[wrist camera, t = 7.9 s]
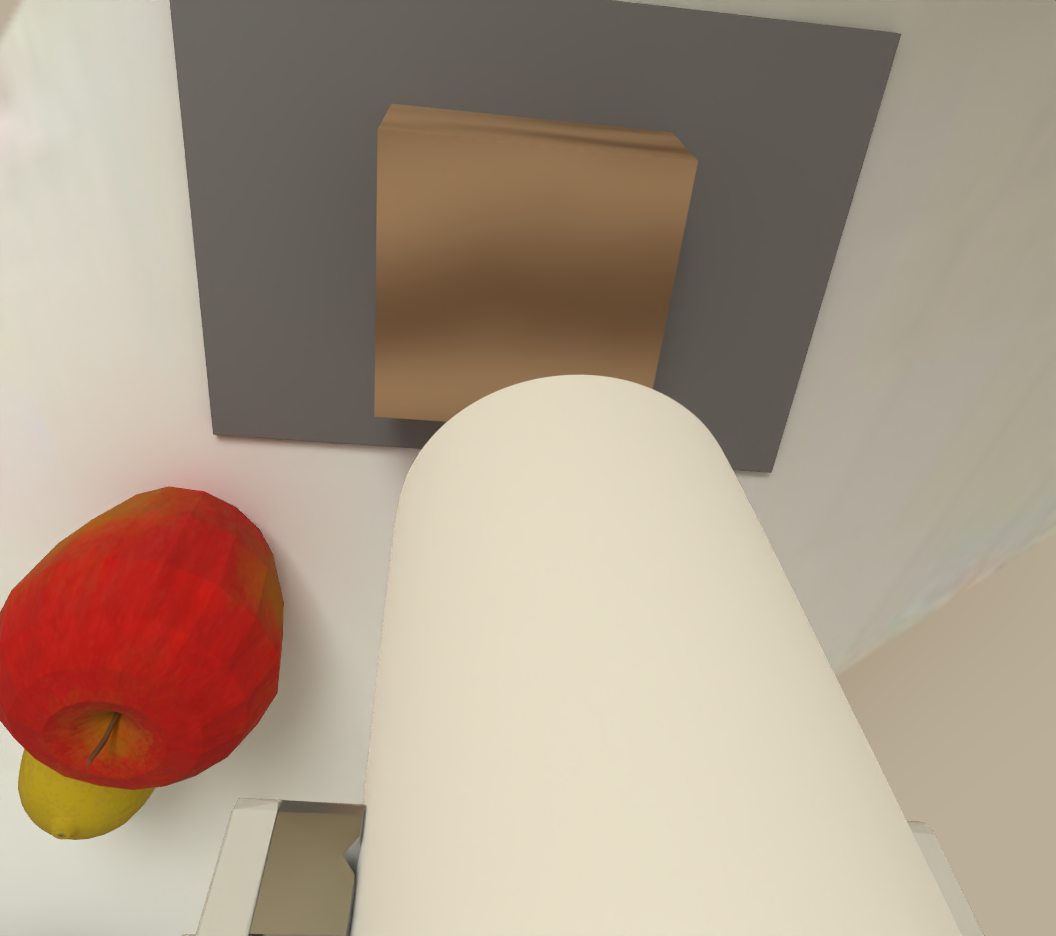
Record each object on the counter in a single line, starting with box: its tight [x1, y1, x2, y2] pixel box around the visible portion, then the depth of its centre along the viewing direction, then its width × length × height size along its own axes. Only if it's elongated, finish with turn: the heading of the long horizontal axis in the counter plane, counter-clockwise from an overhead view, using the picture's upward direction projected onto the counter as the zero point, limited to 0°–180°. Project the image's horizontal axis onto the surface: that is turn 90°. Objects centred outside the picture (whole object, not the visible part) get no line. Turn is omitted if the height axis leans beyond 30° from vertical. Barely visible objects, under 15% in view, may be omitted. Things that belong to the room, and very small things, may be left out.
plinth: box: [374, 104, 698, 422], centre depth 28 cm, size 9×9×4 cm
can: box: [350, 375, 962, 936], centre depth 12 cm, size 6×6×12 cm
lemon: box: [18, 749, 155, 840], centre depth 37 cm, size 6×6×8 cm
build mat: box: [170, 0, 901, 472], centre depth 30 cm, size 16×22×1 cm
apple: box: [0, 487, 284, 790], centre depth 31 cm, size 9×9×12 cm
